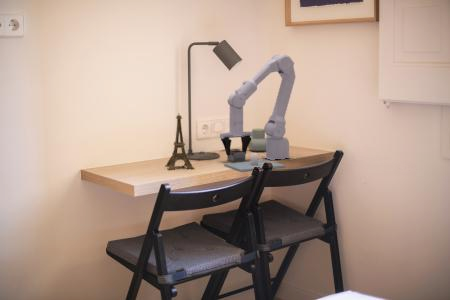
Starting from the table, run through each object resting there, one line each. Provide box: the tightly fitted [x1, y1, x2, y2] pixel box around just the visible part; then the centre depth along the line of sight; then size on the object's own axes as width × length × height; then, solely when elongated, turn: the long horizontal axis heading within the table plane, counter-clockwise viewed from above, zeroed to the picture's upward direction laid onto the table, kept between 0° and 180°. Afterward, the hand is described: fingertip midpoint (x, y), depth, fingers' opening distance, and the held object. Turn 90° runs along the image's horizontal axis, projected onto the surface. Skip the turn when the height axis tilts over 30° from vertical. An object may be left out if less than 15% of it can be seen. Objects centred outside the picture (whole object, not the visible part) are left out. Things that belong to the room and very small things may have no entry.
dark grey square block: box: [226, 149, 246, 163], centre depth 283 cm, size 6×6×4 cm
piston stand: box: [224, 152, 286, 173], centre depth 270 cm, size 20×14×5 cm
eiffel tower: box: [164, 114, 195, 171], centre depth 267 cm, size 11×11×25 cm
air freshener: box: [247, 128, 266, 153], centre depth 309 cm, size 11×8×10 cm
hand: (236, 154), depth 283 cm, fingers open, 7 cm apart
